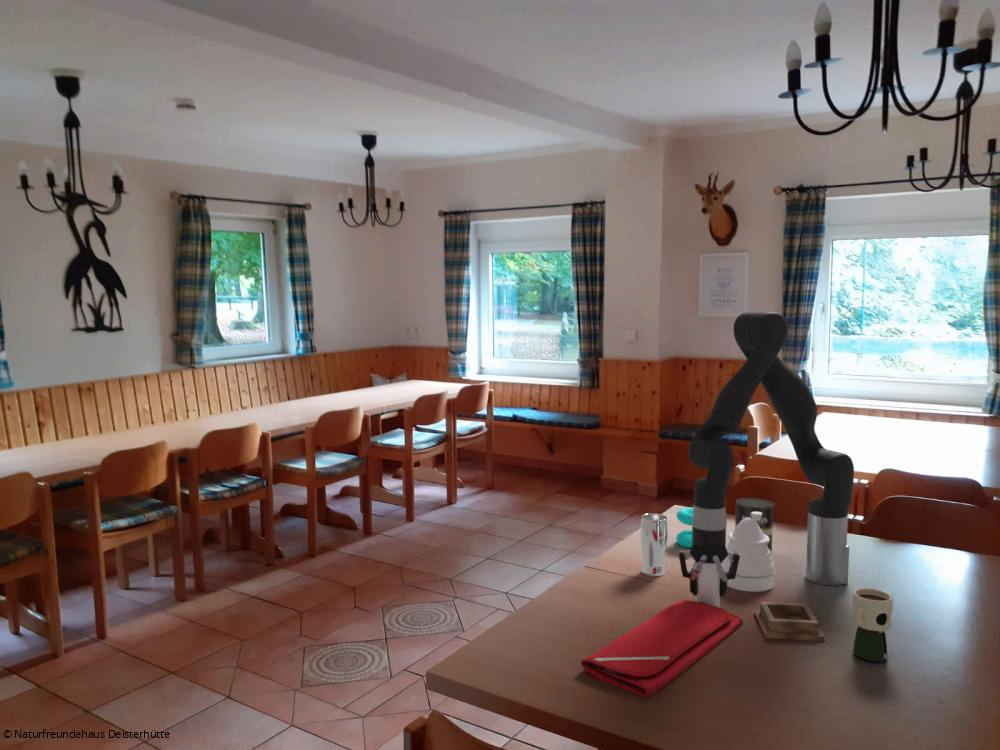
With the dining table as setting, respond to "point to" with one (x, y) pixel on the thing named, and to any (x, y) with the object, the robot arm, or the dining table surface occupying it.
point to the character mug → (871, 622)
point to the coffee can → (756, 505)
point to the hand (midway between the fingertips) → (707, 594)
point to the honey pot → (750, 557)
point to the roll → (708, 585)
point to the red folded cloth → (661, 647)
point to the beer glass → (653, 543)
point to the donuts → (686, 517)
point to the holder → (788, 621)
